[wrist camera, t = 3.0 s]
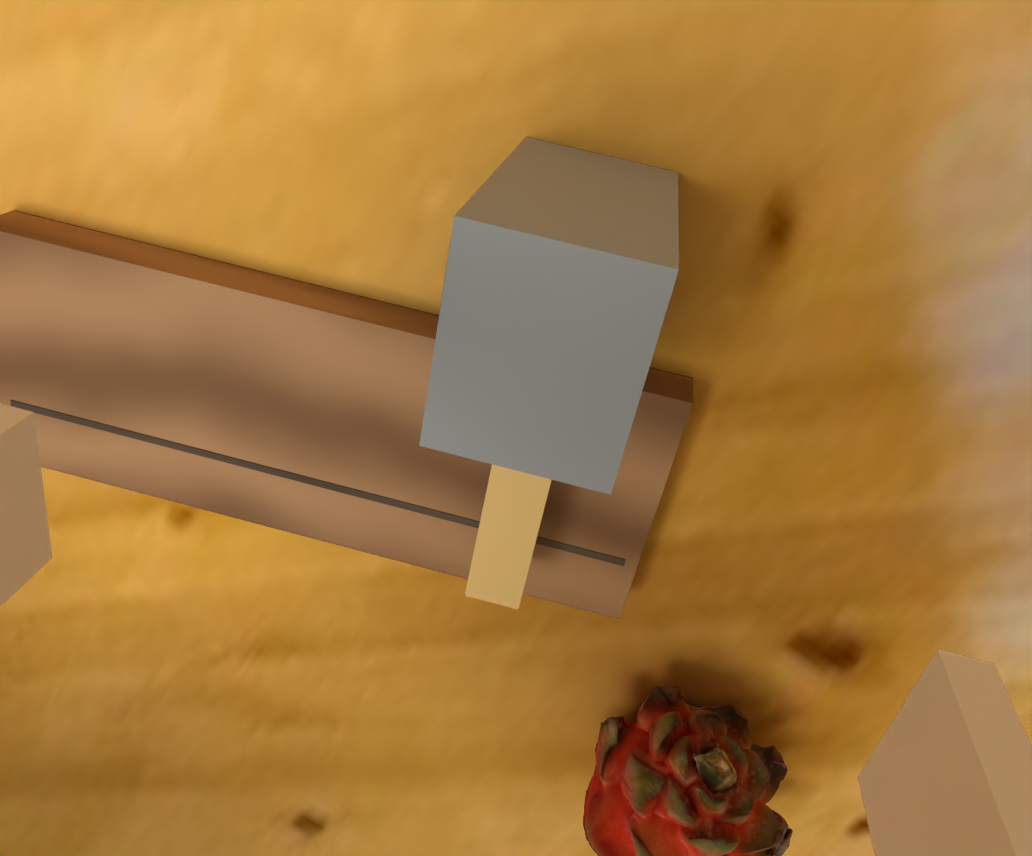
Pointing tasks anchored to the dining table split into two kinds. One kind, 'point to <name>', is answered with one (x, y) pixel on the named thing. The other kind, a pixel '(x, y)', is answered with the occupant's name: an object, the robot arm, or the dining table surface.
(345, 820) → the dining table surface
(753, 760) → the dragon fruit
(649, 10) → the dining table surface
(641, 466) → the board
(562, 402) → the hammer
